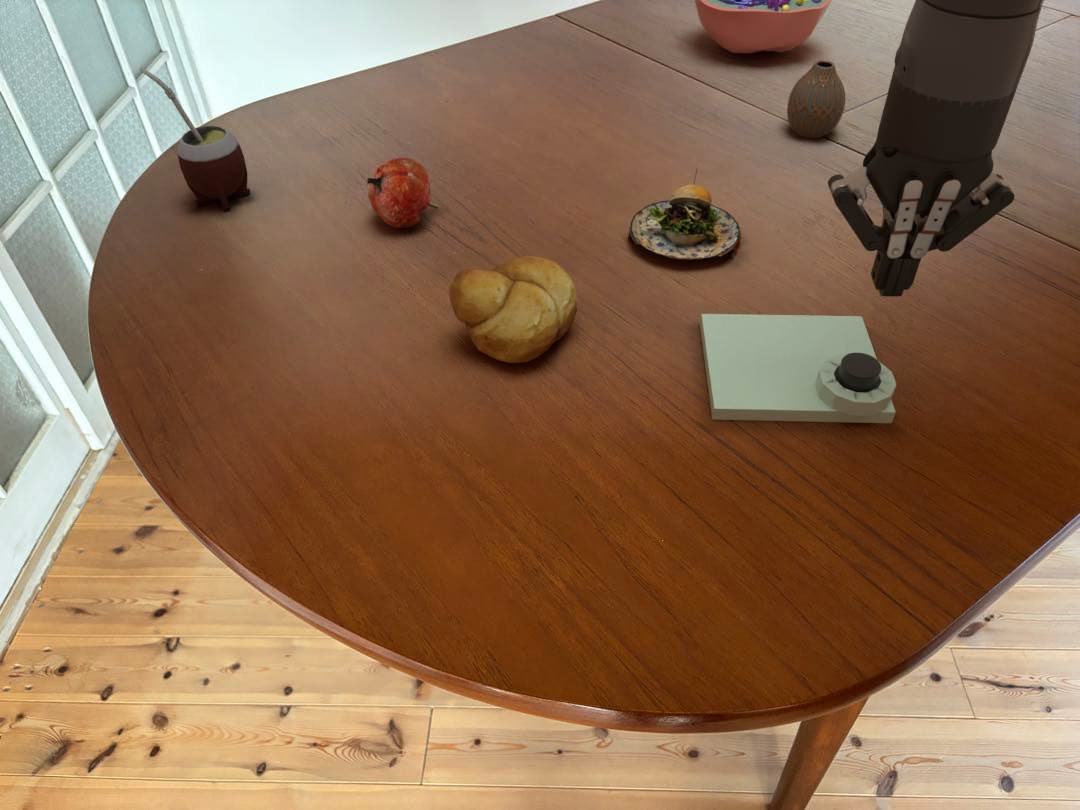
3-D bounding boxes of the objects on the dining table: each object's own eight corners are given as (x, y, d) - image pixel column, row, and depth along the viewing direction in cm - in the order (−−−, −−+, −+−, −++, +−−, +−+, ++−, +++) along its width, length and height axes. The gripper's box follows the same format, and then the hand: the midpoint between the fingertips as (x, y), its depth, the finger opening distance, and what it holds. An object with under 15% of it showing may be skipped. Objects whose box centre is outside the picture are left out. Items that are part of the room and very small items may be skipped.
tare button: (871, 368, 73) (876, 352, 72) (880, 393, 71) (885, 377, 70) (833, 367, 74) (838, 351, 72) (840, 392, 71) (845, 377, 70)
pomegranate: (413, 214, 102) (339, 184, 96) (445, 164, 99) (372, 130, 92) (432, 251, 98) (357, 223, 91) (467, 201, 95) (391, 168, 88)
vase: (804, 148, 107) (819, 79, 101) (772, 125, 112) (784, 58, 106) (849, 137, 109) (866, 68, 103) (815, 115, 114) (829, 48, 108)
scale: (858, 327, 82) (866, 302, 80) (893, 428, 72) (903, 402, 70) (699, 325, 82) (703, 299, 80) (712, 424, 73) (717, 399, 71)
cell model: (811, 80, 122) (828, -4, 114) (674, 62, 127) (681, -19, 120) (827, 36, 133) (843, -43, 125) (700, 22, 139) (708, -54, 131)
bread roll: (535, 282, 88) (533, 214, 82) (609, 320, 83) (612, 250, 78) (443, 343, 81) (434, 273, 76) (518, 388, 76) (514, 317, 71)
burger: (606, 245, 93) (609, 183, 87) (669, 201, 99) (675, 140, 94) (700, 287, 87) (709, 222, 82) (760, 237, 93) (772, 174, 88)
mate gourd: (258, 206, 100) (223, 80, 90) (189, 221, 98) (144, 94, 87) (248, 177, 105) (213, 54, 95) (182, 191, 103) (139, 67, 92)
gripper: (864, 97, 53) (810, 320, 65) (1086, 96, 52) (990, 321, 64) (839, 49, 58) (794, 262, 70) (1040, 47, 57) (960, 263, 69)
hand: (888, 290), depth 67 cm, fingers closed
